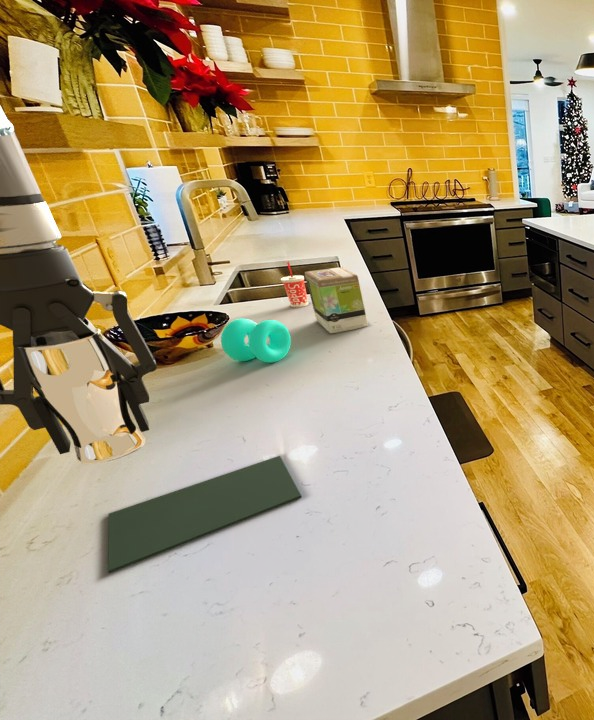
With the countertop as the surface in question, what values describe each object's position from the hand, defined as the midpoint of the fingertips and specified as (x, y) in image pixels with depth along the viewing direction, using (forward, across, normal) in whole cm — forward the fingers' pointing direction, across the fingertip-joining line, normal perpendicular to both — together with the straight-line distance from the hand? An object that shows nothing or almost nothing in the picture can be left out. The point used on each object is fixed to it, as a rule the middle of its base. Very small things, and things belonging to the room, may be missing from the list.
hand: (106, 437), depth 61 cm
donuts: (+14, +22, +57) cm, 63 cm away
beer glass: (+2, 0, 0) cm, 2 cm away
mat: (+14, +6, 0) cm, 15 cm away
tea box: (+14, +43, +72) cm, 85 cm away
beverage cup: (+14, +39, +101) cm, 109 cm away
